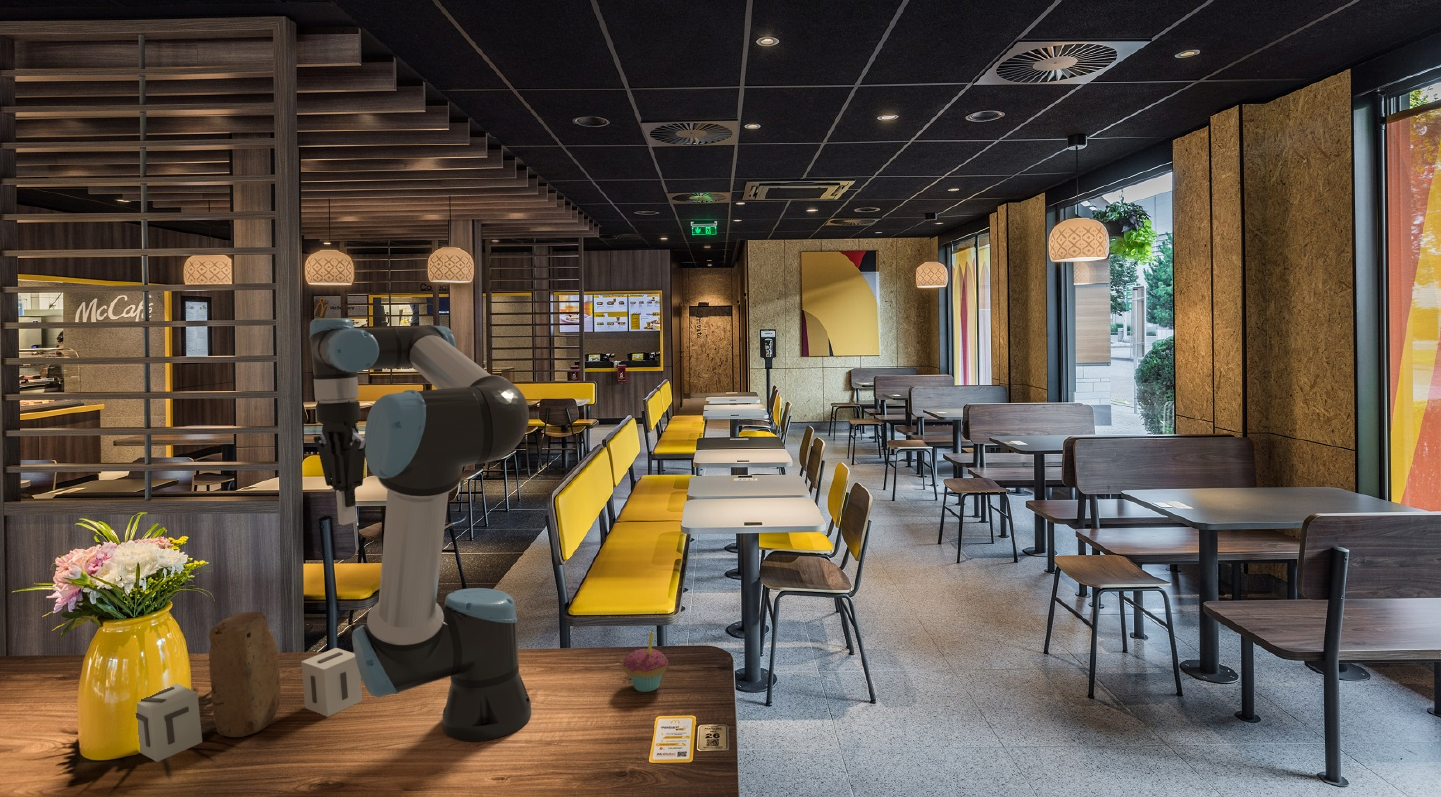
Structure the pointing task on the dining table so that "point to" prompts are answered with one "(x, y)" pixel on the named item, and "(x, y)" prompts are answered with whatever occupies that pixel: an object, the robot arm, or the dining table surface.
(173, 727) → the numbered cube seven
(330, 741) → the dining table surface
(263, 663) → the block
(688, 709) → the dining table surface
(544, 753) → the dining table surface
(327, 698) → the numbered cube one
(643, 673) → the cupcake
